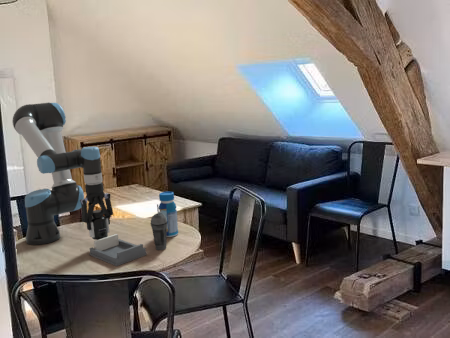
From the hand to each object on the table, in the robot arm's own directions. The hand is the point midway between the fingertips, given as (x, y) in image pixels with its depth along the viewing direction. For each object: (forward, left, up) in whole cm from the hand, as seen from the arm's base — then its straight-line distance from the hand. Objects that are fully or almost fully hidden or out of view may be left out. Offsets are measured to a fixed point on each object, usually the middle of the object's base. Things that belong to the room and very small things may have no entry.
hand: (99, 234), depth 212 cm
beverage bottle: (+11, +30, -7) cm, 33 cm away
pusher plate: (+5, 0, -5) cm, 7 cm away
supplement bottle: (0, 0, -2) cm, 2 cm away
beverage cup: (+22, +16, -7) cm, 28 cm away
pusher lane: (+13, 0, -7) cm, 14 cm away
